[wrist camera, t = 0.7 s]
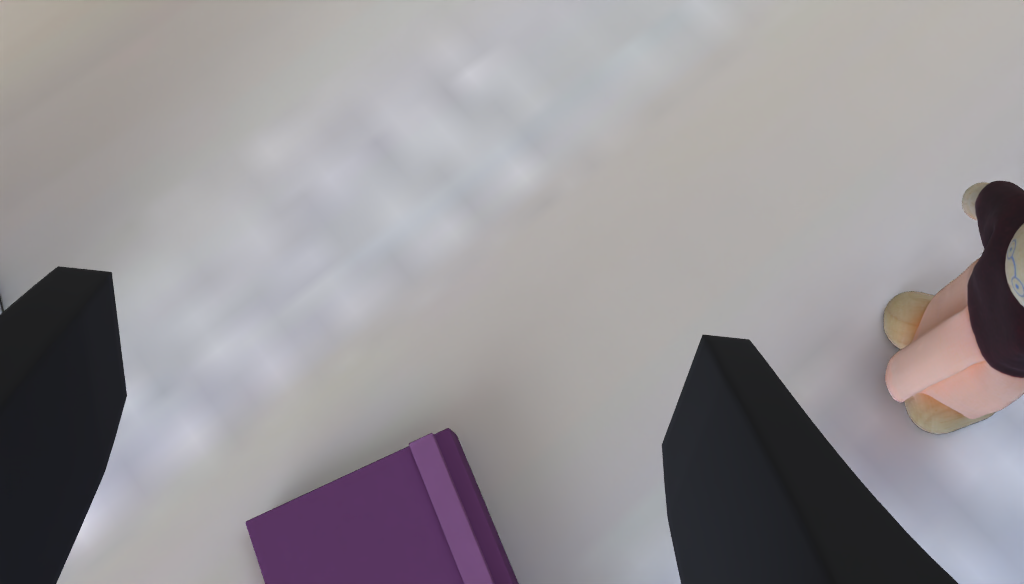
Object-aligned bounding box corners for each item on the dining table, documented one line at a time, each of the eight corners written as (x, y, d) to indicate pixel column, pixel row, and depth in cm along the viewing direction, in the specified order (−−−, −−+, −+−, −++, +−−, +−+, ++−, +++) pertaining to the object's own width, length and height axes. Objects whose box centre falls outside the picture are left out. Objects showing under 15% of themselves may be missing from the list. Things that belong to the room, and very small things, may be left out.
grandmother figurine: (832, 284, 31) (939, 88, 19) (949, 246, 31) (1129, 24, 19) (935, 519, 29) (1130, 460, 17) (1062, 479, 29) (1350, 390, 17)
